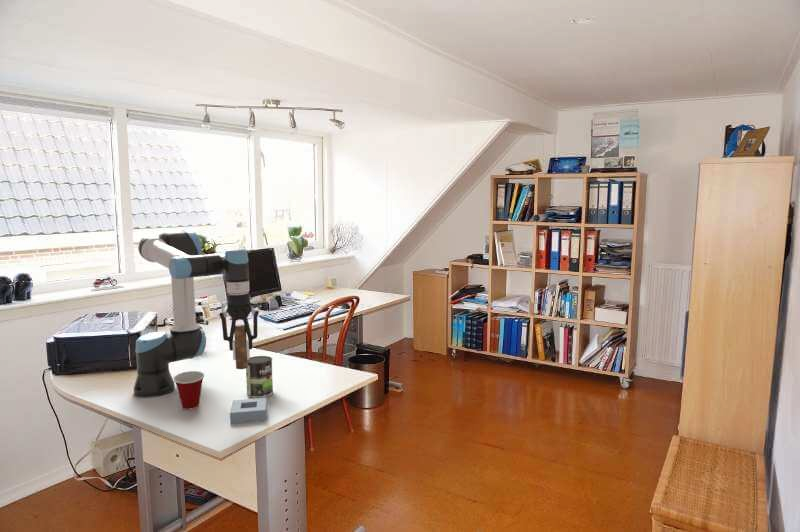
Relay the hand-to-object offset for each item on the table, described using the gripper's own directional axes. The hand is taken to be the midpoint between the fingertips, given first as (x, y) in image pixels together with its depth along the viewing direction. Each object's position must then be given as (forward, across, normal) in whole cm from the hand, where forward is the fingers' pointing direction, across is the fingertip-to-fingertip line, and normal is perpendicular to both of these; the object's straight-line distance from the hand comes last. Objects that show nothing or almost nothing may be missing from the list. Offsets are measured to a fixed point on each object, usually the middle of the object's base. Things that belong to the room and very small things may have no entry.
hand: (241, 358), depth 188 cm
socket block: (+21, +2, +1) cm, 21 cm away
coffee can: (+21, +4, +23) cm, 31 cm away
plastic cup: (+21, -21, +14) cm, 33 cm away
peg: (+3, 0, 0) cm, 3 cm away
